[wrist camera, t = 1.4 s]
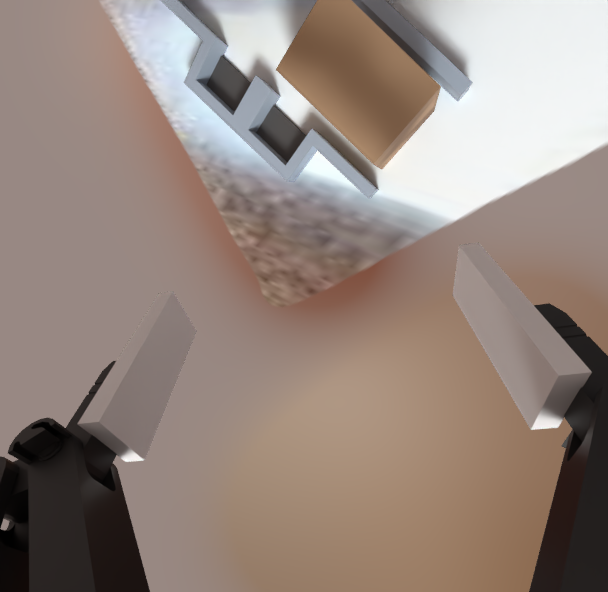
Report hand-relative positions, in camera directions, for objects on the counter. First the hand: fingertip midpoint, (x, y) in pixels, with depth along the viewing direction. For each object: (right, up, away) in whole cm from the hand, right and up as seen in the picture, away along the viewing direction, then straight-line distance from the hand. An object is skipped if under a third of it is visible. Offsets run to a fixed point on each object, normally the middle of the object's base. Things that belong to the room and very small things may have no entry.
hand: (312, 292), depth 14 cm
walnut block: (+5, +17, +13) cm, 22 cm away
